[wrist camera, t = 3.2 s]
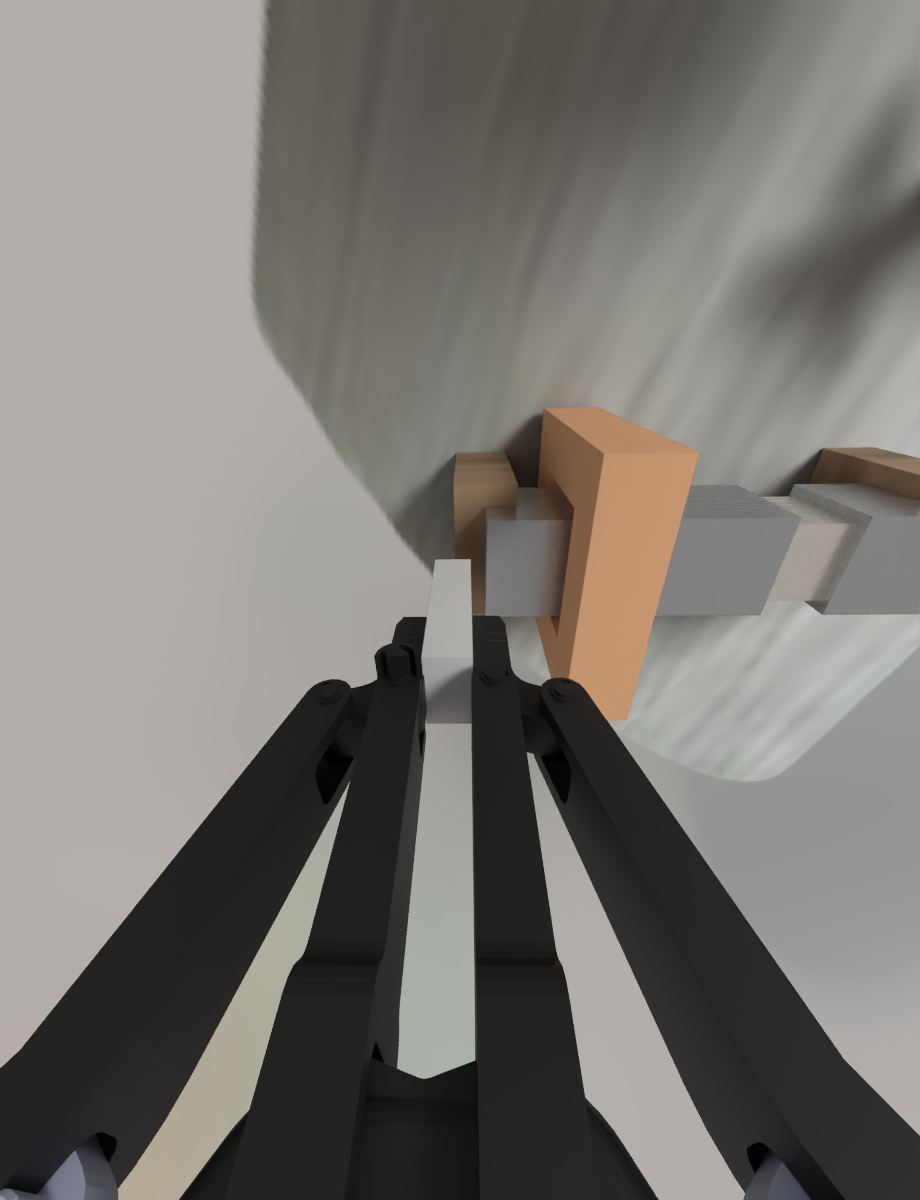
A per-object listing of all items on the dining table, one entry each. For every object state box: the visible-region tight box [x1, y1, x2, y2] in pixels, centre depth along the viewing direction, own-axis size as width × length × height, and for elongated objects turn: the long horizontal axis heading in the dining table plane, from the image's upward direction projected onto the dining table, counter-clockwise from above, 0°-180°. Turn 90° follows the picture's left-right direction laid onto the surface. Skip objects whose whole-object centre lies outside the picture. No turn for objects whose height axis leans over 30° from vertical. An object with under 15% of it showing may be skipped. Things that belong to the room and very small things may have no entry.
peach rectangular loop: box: [535, 407, 699, 720], centre depth 21 cm, size 12×3×12 cm, turn 1°
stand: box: [453, 448, 920, 612], centre depth 24 cm, size 7×25×7 cm, turn 91°
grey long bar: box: [484, 483, 920, 617], centre depth 21 cm, size 5×22×5 cm, turn 91°
